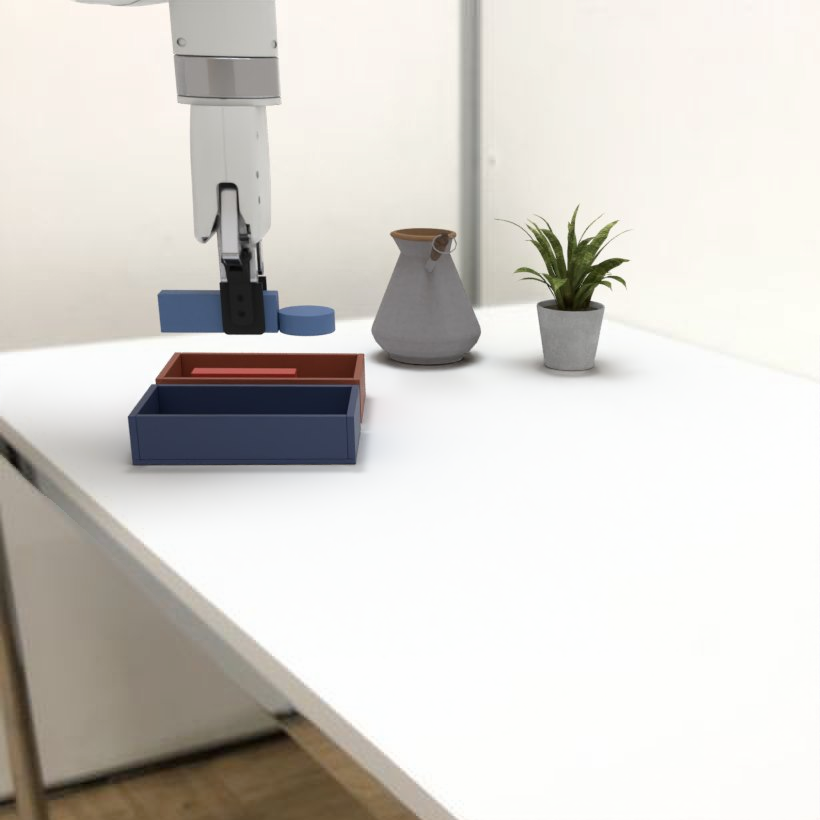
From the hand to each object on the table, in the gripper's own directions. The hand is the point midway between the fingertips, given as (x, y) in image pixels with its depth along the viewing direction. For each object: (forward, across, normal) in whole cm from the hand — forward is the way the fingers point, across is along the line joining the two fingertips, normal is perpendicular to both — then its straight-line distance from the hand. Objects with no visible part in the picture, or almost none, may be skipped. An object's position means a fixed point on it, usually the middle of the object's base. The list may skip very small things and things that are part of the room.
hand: (246, 328), depth 108 cm
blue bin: (+10, 0, 0) cm, 10 cm away
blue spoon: (0, 0, 0) cm, 0 cm away
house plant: (+10, -29, +28) cm, 41 cm away
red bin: (+10, -12, 0) cm, 15 cm away
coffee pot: (+10, -28, +15) cm, 33 cm away
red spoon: (+9, -12, 0) cm, 15 cm away
